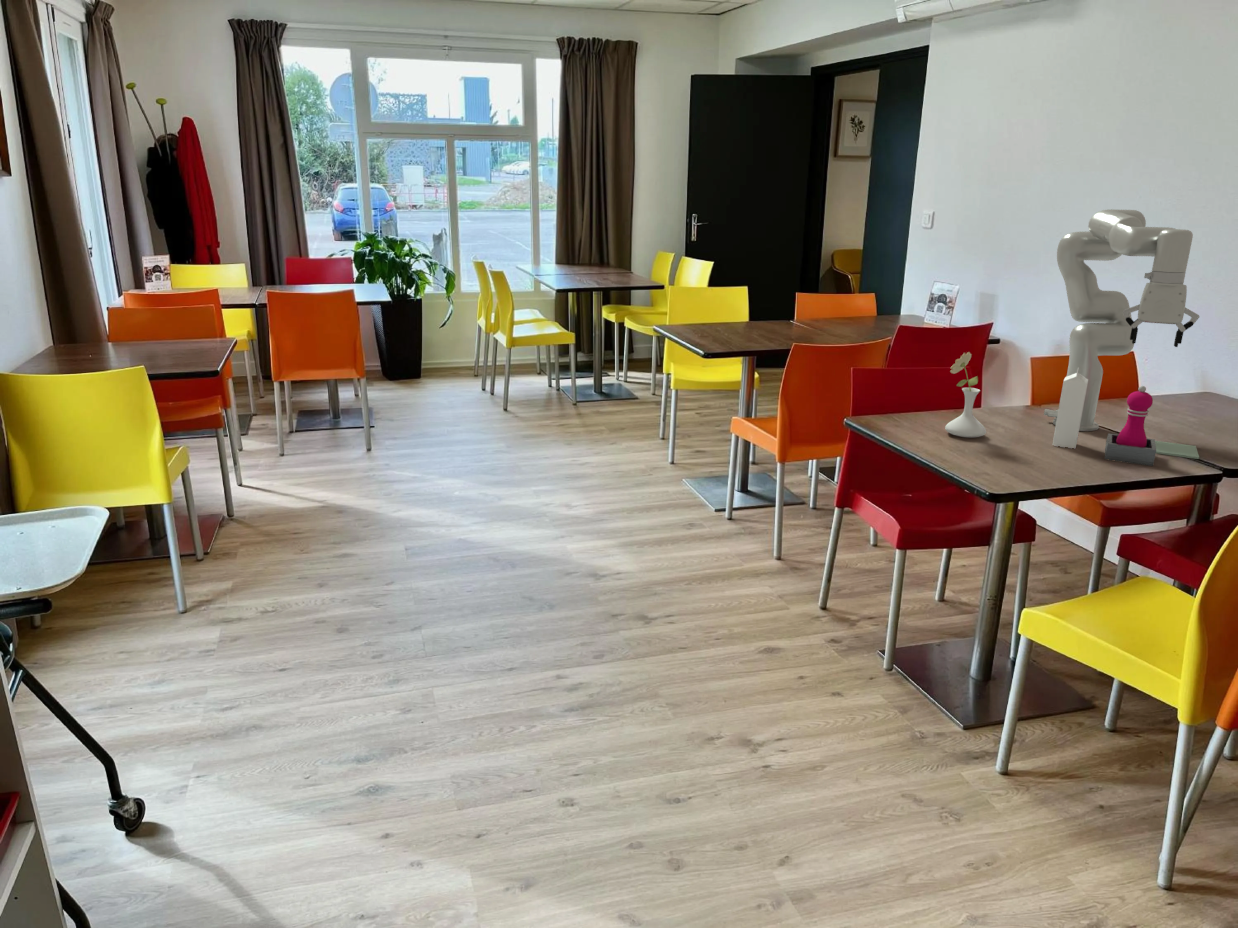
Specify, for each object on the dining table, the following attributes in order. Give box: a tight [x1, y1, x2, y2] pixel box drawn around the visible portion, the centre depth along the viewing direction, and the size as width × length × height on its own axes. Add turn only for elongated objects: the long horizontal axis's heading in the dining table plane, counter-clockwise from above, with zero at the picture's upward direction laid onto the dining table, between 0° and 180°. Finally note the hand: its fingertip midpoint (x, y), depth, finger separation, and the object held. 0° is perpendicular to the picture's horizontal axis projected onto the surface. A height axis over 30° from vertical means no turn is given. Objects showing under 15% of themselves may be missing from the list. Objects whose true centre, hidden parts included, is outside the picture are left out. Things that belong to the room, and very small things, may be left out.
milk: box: [1052, 368, 1088, 450], centre depth 249 cm, size 6×6×22 cm
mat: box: [1155, 440, 1200, 460], centre depth 249 cm, size 14×12×1 cm
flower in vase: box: [944, 351, 987, 438], centre depth 256 cm, size 13×11×25 cm
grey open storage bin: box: [1104, 433, 1156, 467], centre depth 241 cm, size 11×11×4 cm
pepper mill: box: [1116, 385, 1154, 447], centre depth 239 cm, size 7×7×20 cm
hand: (1154, 344), depth 233 cm, fingers open, 9 cm apart
